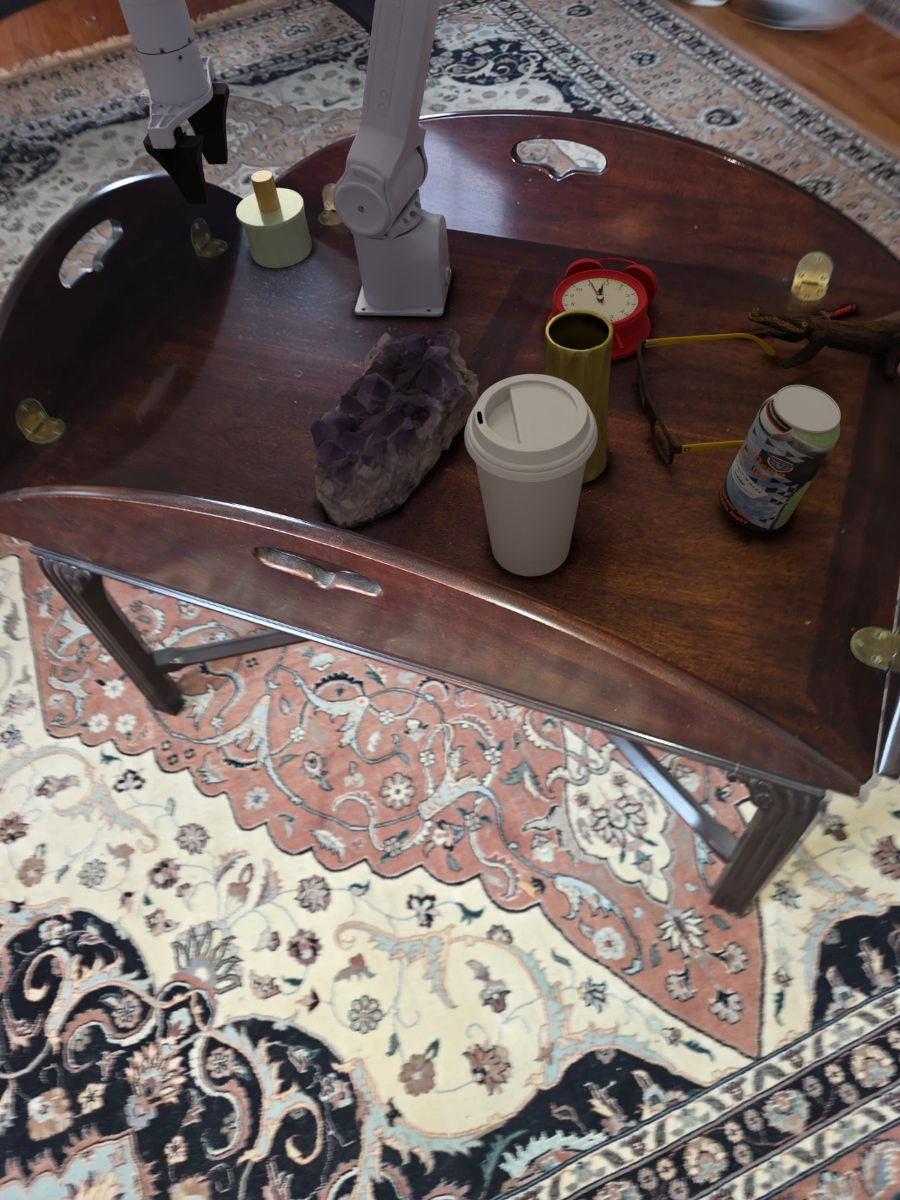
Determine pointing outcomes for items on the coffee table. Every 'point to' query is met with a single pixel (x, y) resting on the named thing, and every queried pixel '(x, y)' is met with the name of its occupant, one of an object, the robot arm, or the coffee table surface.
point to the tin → (280, 244)
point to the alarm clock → (610, 299)
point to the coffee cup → (530, 467)
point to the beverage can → (780, 457)
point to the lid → (269, 204)
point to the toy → (831, 335)
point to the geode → (391, 426)
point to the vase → (583, 368)
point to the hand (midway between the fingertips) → (208, 182)
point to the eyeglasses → (651, 406)
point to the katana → (821, 315)
